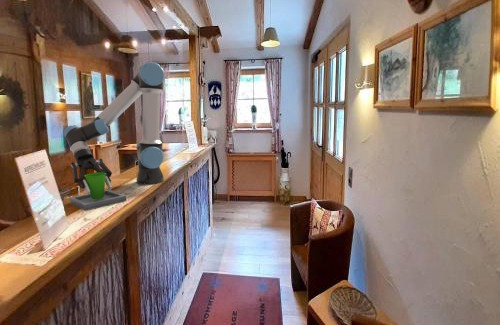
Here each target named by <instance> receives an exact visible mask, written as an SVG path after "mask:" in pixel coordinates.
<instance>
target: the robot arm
mask: <svg viewBox="0 0 500 325" xmlns="http://www.w3.org/2000/svg"><path fill="white" fill-rule="evenodd" d="M164 79H165V70H164V69H163V67H162V66H161V65H160V64H159V63H157V62H155V61H154V62H153V61H148V62H145V63H143V64H142V65H141V67H140V69H139V70H138V72H137V73H136V75H135V76H134V77H133V78H132V79H131V82H130V84H129V85H128V86H127V87H125V89H124V90H123V91H122V92H120V94H119V95H117V97H115V98H114V99H113V100H112V101H111V103H109V104H108V105H107V106H106V107H105V108H104V109H103V110H102V111H101V112H100V113H99V114H98V115H97V116H96V117H95V118H94V119H92V121H91V122H89V123H87V124H85V125H83V126H78V125H74V124H73V125H68V126H67V127H65V128H64V130H63V134H64V137H65V141H66V142H67V144H68V146H69V148H70V150H71V152H72V155H73V157H74V160H75V162H74V161H73V162H71V164H70V168H71V170H72V178H73V183H75V184H76V183H78V185H80V187H81V189H83V190H84V191H85V193H86V194H87V195H89V194H90V190H89V187H88V185H87V182H86V179H84V175H85V171H88V170H92V171H95V173H99V172H103V173H106V175H105V186H106V187H107V190H111V191H112V189H113V186H112V183H111V182H112V180H111V176H112V174H113V172H112V171H111V170H110V169H109V168H108V166H107V164H105V163H104V161H103V159H102V158H99V159H96V158H95V157H94V155H93V153H92V150H91V149H90V146H89V145H88V143H87V142H89V141H92V140H94V139H96V138H99V137H101V136H104V135H105V134H107V133H110V129H109V127H110V126H111V124H113V122H116V120H117V119H118V118H119V117H120V116H121V115H122V114H123V113H124V112H125V111H126V110H127V109H129V107H130V106H131V105H132V104H134V102H135V101H136V100H137V99H138V98H140V96H142V139H141V140H140V141H139V142H138V143H136V153H137V154H136V155H137V165H138V172H137V176H136V184H138V185H153V184H159V183H162V182H164V181H165V176H164V174H163V172H162V169H161V165H162V164H163V162H164V159H165V158H164V157H165V156H164V153H163V142H162V141H161V138H160V131H161V130H160V128H161V127H160V126H161V125H160V124H161V122H160V121H161V120H160V119H161V107H160V105H161V93H162V92H163V91H164ZM77 167H79V168H81V169H80V176H79V177H78V170H77Z"/></svg>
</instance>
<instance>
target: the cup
mask: <svg viewBox="0 0 500 325" xmlns="http://www.w3.org/2000/svg"><path fill="white" fill-rule="evenodd" d="M105 175H106V173H103V172H99V173H98V172H92V173H86V174H84V176H83V178H85V181H86V183H87V185H88V187H89V190H90V193H89V194H90V195H91V198H92V199H101V198H103V197H104V191H105V190H106V189H105V186H106V183H105Z"/></svg>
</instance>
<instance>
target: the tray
mask: <svg viewBox="0 0 500 325" xmlns="http://www.w3.org/2000/svg"><path fill="white" fill-rule="evenodd" d="M123 202H127V196H126V195H125V194H122V193H119V192H116V191H114V190H112V189H111V190H109V189H104V197H103V198H101V199H92V198H91V195H90V193H89V195H87V193H86V194H82V195H77V196H73V197H69V203H70V204H71V205H73V206H75V207H77V208H78V209H79V208H80V209H81V210H83V211H85V212H86V211H87V212H88V211H89V210H93V209H98V208H103V207H106V206H110V205H115V203H116V204H119V203H123Z"/></svg>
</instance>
